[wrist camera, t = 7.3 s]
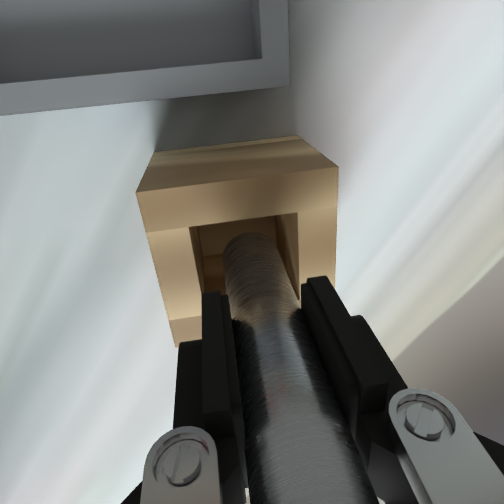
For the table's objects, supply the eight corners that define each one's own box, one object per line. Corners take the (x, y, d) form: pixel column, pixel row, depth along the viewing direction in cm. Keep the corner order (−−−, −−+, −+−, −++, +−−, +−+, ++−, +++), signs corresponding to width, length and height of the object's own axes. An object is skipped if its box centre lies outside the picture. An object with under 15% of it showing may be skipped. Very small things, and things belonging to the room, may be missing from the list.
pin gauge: (276, 228, 14) (520, 775, 3) (278, 276, 15) (468, 803, 4) (219, 235, 14) (285, 836, 3) (225, 283, 15) (292, 850, 4)
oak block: (299, 256, 21) (333, 322, 16) (180, 274, 21) (175, 347, 15) (296, 134, 18) (338, 166, 12) (154, 151, 17) (135, 192, 12)
